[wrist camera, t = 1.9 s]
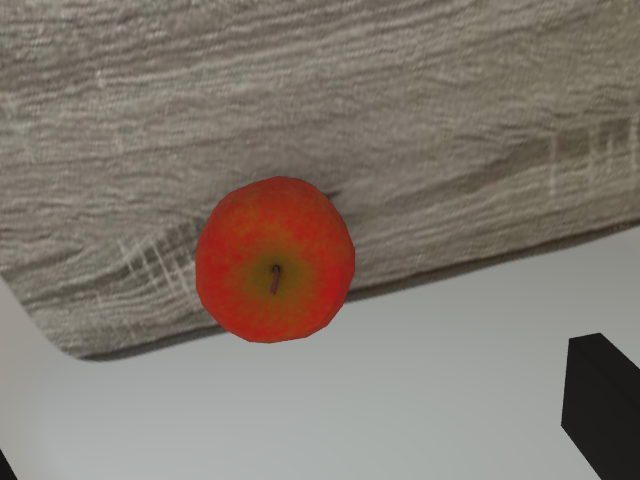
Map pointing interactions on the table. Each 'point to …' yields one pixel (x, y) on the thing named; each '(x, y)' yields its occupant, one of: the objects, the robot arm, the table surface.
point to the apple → (274, 261)
